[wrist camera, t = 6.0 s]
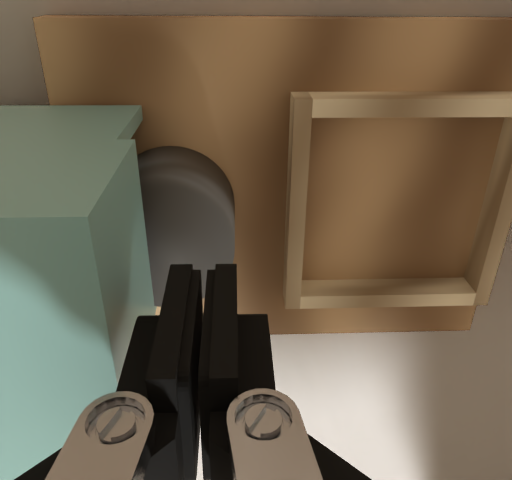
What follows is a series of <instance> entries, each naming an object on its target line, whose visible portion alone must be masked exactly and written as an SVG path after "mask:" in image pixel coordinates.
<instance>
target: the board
mask: <svg viewBox="0 0 512 480" xmlns="http://www.w3.org/2000/svg"><path fill="white" fill-rule="evenodd" d="M33 22H34V27H35V32H36V38H37V43H38V48H39V53H40V58H41V63H42V68H43V73H44V78H45V84H46V89H47V94H48V99H49V104H50V105H141V106H142V115H143V120H142V122H141V124H140V125H139V127H138V128H137V130H136V131H135V133H134V134H133V136H132V138H131V139H135V143H136V151H137V160H138V169H139V177H140V186H141V194H142V203H143V212H144V220H145V229H146V238H147V246H148V255H149V263H150V272H151V281H152V289H153V298H154V306H157V308H156V312H155V315H160V310H161V305H162V301H163V296H164V292H165V287H166V282H167V278H168V273H169V269H170V265H171V264H192V265H193V270H201V279H202V301H203V312H204V301H205V289H206V278H207V270H211V269H215V266H216V264H237V314H267V315H268V322H269V332H270V334H316V333H363V332H410V331H457V330H470V327H471V324H472V320H473V316H474V313H475V309H476V306H477V305H487V304H488V301H489V297H490V294H491V290H492V287H493V283H494V280H495V277H496V273H497V270H498V266H499V263H500V259H501V256H502V253H503V249H504V246H505V242H506V239H507V235H508V232H509V228H510V225H511V222H512V17H344V16H127V15H44V16H39V17H33Z"/></svg>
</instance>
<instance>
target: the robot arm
mask: <svg viewBox="0 0 512 480" xmlns="http://www.w3.org/2000/svg"><path fill="white" fill-rule="evenodd" d="M200 428H201V445H202V463H203V479H204V480H371V479H370V478H369V477H367V476H366V475H364V474H363V473H362V472H360V471H359V470H357V469H356V468H355V467H353V466H352V465H350V464H349V463H348V462H346V461H345V460H343V459H342V458H341V457H339V456H338V455H336V454H335V453H334V452H332V451H331V450H329V449H328V448H327V447H325V446H324V445H322V444H321V443H320V442H318V441H317V440H315V439H314V438H313V437H311V436H310V435H308V434H307V432H306V429H305V426H304V423H303V420H302V417H301V414H300V411H299V409H298V408H297V406H296V404H295V402H294V401H293V400H291V399H290V398H289V397H288V396H287V395H285V394H283V393H281V392H279V391H276V390H275V380H274V370H273V361H272V351H271V342H270V332H269V322H268V315H267V314H237V264H216V266H215V269H211V270H207V278H206V289H205V301H204V312H203V301H202V279H201V270H193V265H192V264H171V265H170V269H169V273H168V278H167V282H166V287H165V292H164V296H163V301H162V305H161V310H160V315H142V316H138V317H137V319H136V322H135V325H134V329H133V332H132V336H131V340H130V343H129V347H128V350H127V354H126V357H125V361H124V364H123V368H122V371H121V375H120V379H119V382H118V386H117V389H116V392H113V393H109V394H105V395H103V396H101V397H99V398H97V399H95V400H94V401H93V402H91V403H90V404H89V405H88V406H86V408H85V409H84V410H83V412H82V413H81V414H80V416H79V417H78V419H77V421H76V423H75V425H74V427H73V429H72V430H71V432H70V434H69V436H68V438H67V440H66V442H65V443H64V445H63V447H62V448H61V449H59V450H58V451H56V452H55V453H53V454H52V455H50V456H49V457H47V458H46V459H44V460H43V461H41V462H40V463H38V464H37V465H35V466H34V467H32V468H31V469H29V470H28V471H26V472H25V473H23V474H22V475H20V476H19V477H17V478H16V479H14V480H196V476H197V463H198V449H199V435H200Z"/></svg>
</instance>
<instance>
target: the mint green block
mask: <svg viewBox="0 0 512 480" xmlns="http://www.w3.org/2000/svg"><path fill="white" fill-rule="evenodd" d="M142 120H143V115H142V106H141V105H14V106H0V480H14V479H16V478H17V477H19V476H20V475H22V474H23V473H25V472H26V471H28V470H29V469H31V468H32V467H34V466H35V465H37V464H38V463H40V462H41V461H43V460H44V459H46V458H47V457H49V456H50V455H52V454H53V453H55V452H56V451H58V450H59V449H61V448H62V447H63V445H64V443H65V442H66V440H67V438H68V436H69V434H70V432H71V430H72V429H73V427H74V425H75V423H76V421H77V419H78V417H79V416H80V414H81V413H82V412H83V410H84V409H85V408H86V406H88V405H89V404H90V403H91V402H93V401H94V400H95V399H97V398H99V397H101V396H103V395H105V394H109V393H113V392H116V389H117V386H118V382H119V379H120V375H121V371H122V368H123V364H124V361H125V357H126V354H127V350H128V347H129V343H130V340H131V336H132V332H133V329H134V325H135V322H136V319H137V317H138V316H142V315H155V312H156V308H157V306H154V298H153V289H152V281H151V272H150V263H149V255H148V246H147V238H146V229H145V220H144V212H143V203H142V194H141V186H140V177H139V169H138V160H137V151H136V143H135V139H131V138H132V136H133V134H134V133H135V131H136V130H137V128H138V127H139V125H140V124H141V122H142Z"/></svg>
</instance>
